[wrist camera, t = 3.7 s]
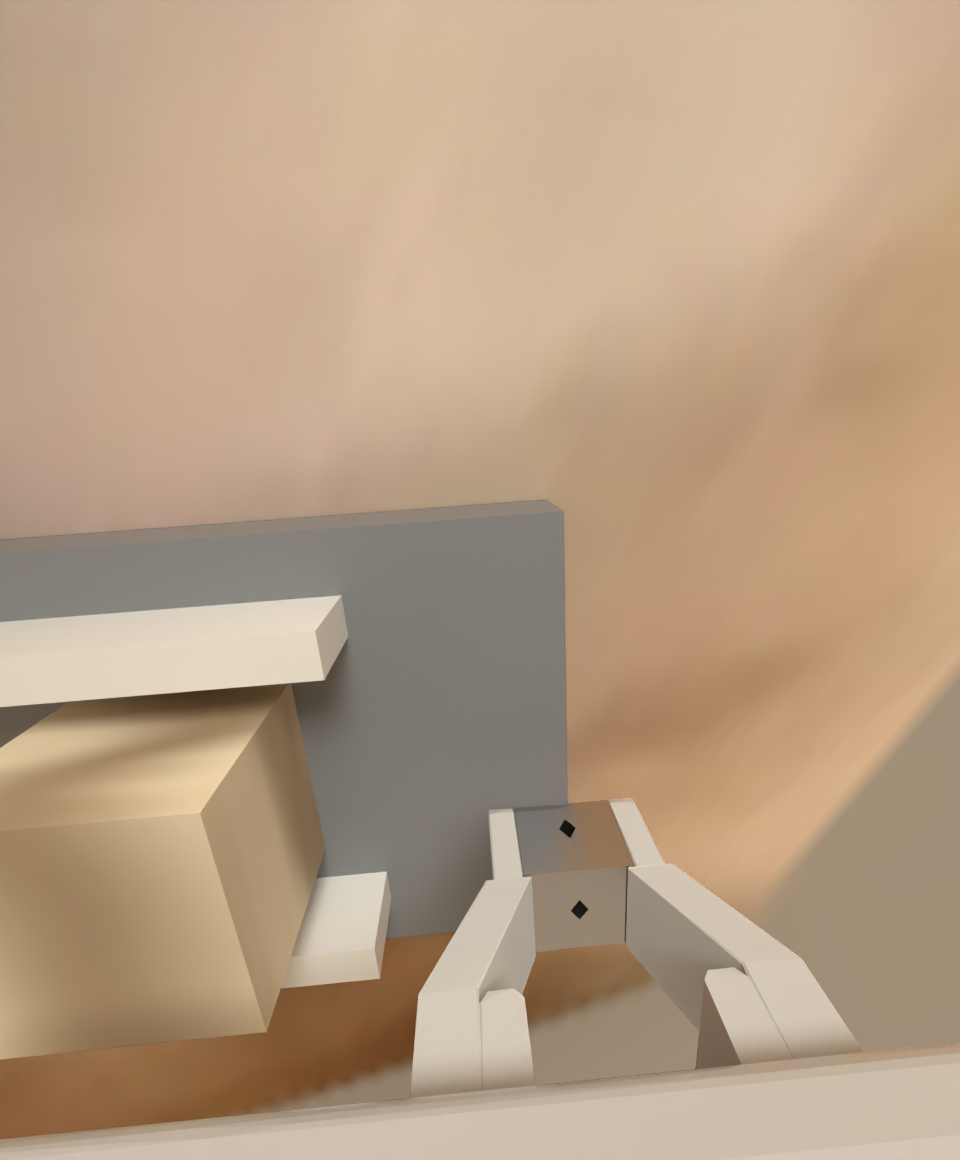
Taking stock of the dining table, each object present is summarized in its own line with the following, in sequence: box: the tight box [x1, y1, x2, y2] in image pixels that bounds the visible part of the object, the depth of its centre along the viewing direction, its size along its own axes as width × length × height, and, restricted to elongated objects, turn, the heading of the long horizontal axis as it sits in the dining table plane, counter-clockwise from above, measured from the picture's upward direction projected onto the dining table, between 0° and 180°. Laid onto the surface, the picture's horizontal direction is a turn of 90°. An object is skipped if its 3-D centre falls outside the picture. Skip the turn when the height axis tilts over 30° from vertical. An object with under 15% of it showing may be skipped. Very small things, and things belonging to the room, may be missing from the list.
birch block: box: [0, 683, 326, 1059], centre depth 10 cm, size 5×5×4 cm
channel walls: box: [0, 595, 391, 989], centre depth 11 cm, size 10×9×2 cm
